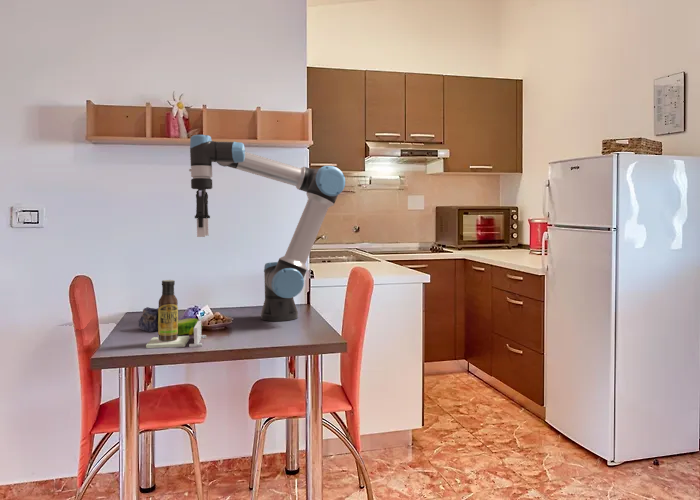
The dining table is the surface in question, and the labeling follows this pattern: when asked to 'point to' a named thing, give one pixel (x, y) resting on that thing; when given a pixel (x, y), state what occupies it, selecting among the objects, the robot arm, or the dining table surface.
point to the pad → (168, 342)
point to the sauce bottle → (168, 312)
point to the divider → (197, 335)
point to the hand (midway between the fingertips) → (203, 236)
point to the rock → (149, 319)
